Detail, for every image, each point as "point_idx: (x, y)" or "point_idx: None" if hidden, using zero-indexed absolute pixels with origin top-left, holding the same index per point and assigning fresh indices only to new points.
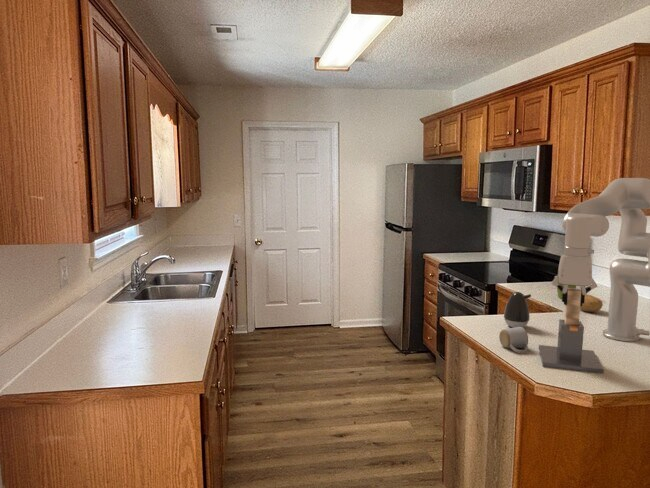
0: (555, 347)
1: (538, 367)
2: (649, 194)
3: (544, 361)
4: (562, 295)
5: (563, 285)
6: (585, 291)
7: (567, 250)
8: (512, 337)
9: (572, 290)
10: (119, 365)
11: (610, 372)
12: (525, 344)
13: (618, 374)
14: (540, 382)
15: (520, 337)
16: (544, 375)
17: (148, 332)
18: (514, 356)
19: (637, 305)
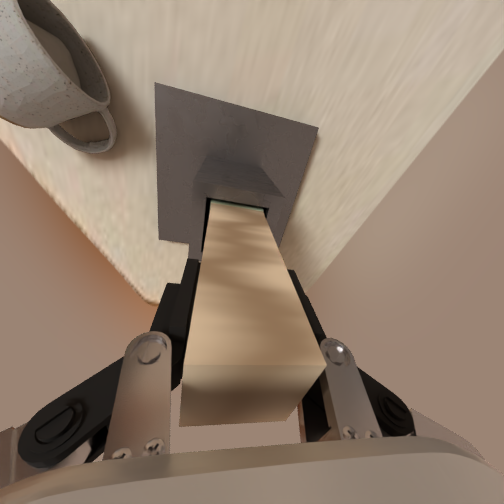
0: (210, 108)
1: (152, 241)
2: None
3: (162, 234)
4: (156, 325)
5: (120, 434)
6: (323, 408)
7: None
8: (29, 122)
9: (219, 422)
10: None
11: (292, 240)
12: (101, 112)
13: (302, 247)
14: (153, 300)
15: (63, 113)
16: (161, 274)
17: None
18: (86, 178)
19: None
